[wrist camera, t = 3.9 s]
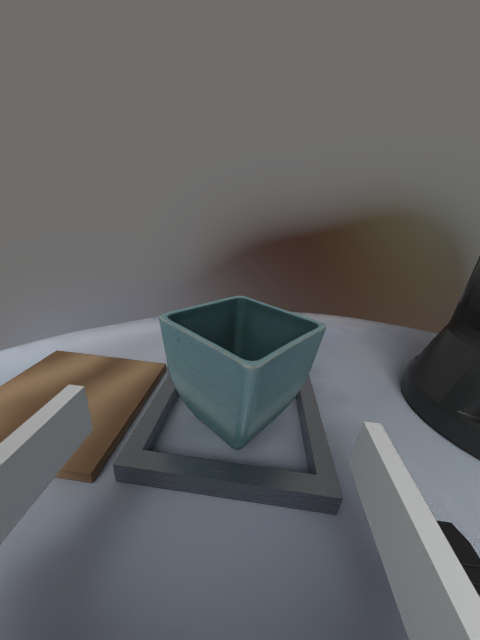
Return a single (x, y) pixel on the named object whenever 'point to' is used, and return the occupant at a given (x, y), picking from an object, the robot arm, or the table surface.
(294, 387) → the flower pot
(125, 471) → the metal collar
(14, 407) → the walnut board
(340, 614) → the table surface
